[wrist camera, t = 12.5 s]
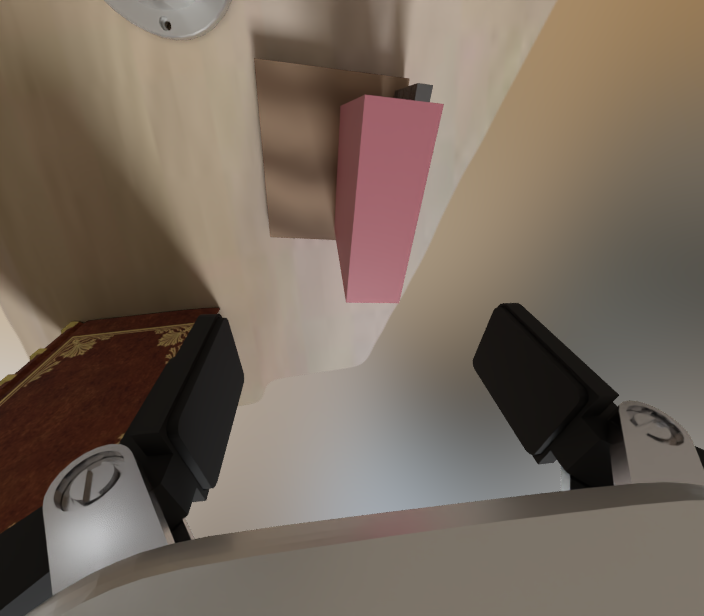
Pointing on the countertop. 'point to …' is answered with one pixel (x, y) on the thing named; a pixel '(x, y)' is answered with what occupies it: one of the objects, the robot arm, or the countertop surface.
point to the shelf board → (306, 140)
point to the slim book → (381, 191)
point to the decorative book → (79, 398)
